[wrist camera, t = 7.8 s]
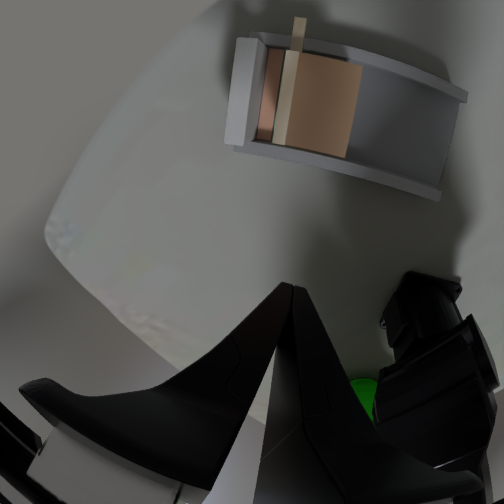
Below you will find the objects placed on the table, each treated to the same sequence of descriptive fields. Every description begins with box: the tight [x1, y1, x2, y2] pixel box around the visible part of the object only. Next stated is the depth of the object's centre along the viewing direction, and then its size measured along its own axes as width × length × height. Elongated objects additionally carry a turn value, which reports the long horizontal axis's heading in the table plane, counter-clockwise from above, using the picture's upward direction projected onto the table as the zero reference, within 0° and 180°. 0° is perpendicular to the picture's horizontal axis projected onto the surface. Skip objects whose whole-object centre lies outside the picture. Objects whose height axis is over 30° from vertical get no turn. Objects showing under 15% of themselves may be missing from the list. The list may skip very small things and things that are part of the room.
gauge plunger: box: [272, 17, 363, 158], centre depth 13 cm, size 4×7×4 cm, turn 173°
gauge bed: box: [224, 31, 468, 203], centre depth 14 cm, size 14×8×4 cm, turn 83°
